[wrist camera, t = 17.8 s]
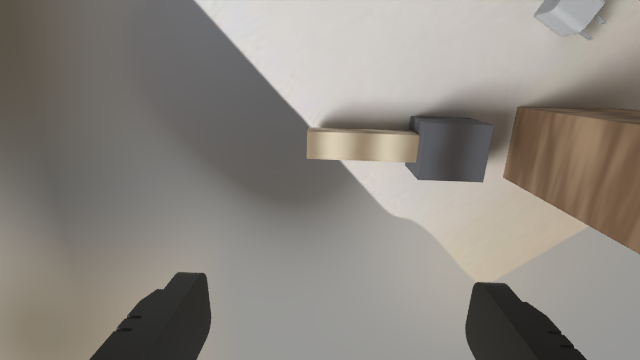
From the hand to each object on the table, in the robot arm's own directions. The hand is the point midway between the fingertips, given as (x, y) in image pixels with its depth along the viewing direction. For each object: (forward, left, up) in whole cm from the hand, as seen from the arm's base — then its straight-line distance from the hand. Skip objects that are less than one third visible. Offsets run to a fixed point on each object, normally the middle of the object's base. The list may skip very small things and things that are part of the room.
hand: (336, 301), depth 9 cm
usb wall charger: (-25, +20, -36) cm, 48 cm away
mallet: (-2, +8, -36) cm, 37 cm away
